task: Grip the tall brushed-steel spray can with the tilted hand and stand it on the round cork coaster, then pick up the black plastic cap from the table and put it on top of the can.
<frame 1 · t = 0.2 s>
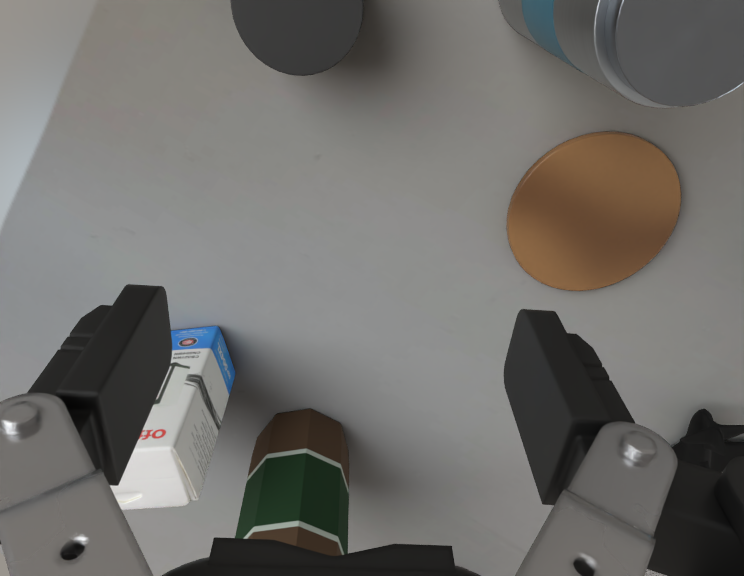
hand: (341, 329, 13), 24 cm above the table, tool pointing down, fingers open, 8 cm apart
ink box: (174, 354, 43), on the table
beer bottle: (303, 438, 48), on the table
toy airplane: (688, 451, 50), on the table
cork coaster: (590, 214, 38), on the table
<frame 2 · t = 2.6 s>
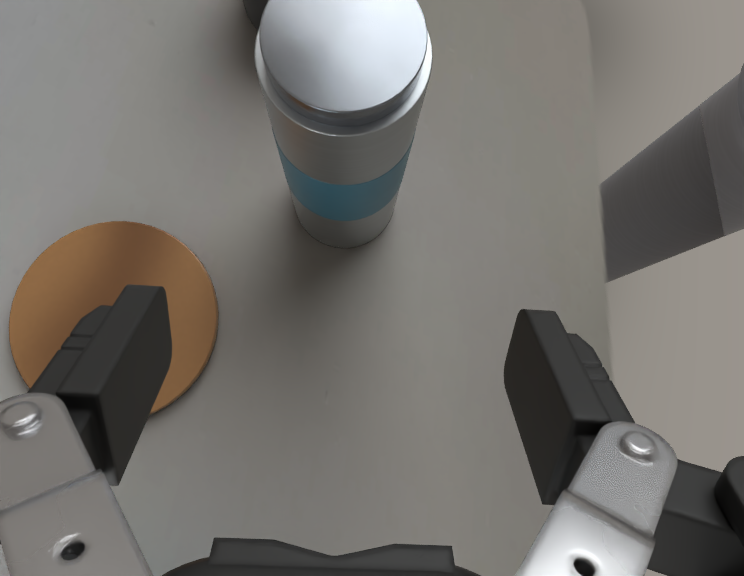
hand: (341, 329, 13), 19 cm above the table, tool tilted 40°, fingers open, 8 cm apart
cork coaster: (117, 320, 32), on the table
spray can: (344, 199, 34), on the table
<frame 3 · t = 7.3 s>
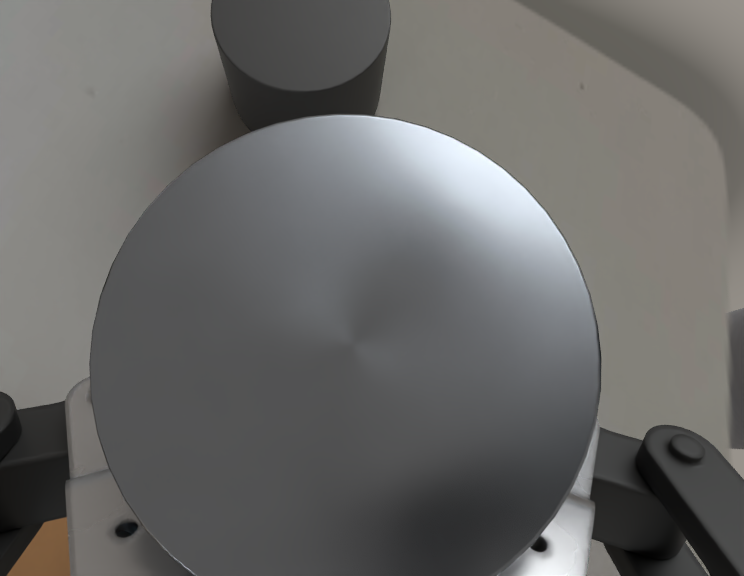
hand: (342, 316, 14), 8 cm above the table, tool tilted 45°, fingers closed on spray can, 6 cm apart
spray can: (335, 402, 21), on the table, touching gripper
black cap: (306, 86, 24), on the table
when the fingers open (9 cm above the table, at t = 16.4 s): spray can stays where it is, resting on cork coaster.
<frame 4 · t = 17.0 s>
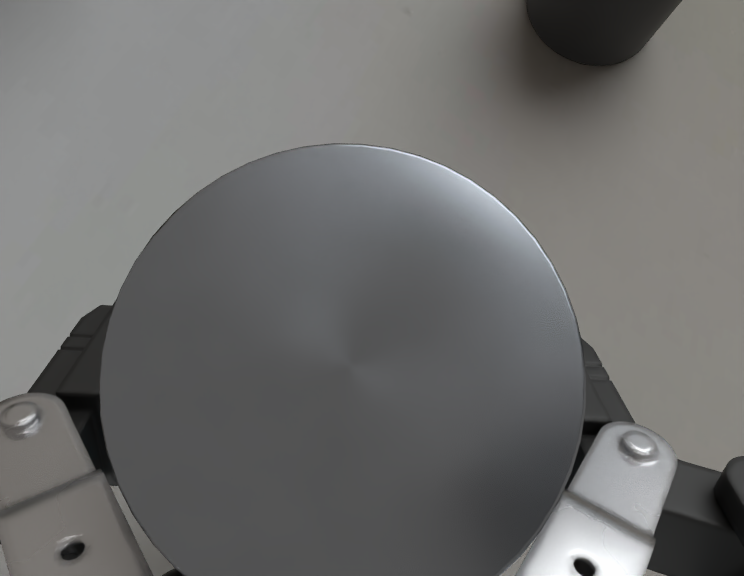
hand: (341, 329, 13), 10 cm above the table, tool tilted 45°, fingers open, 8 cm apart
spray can: (334, 408, 22), point 1 cm above the table, touching cork coaster
black cap: (590, 8, 27), on the table
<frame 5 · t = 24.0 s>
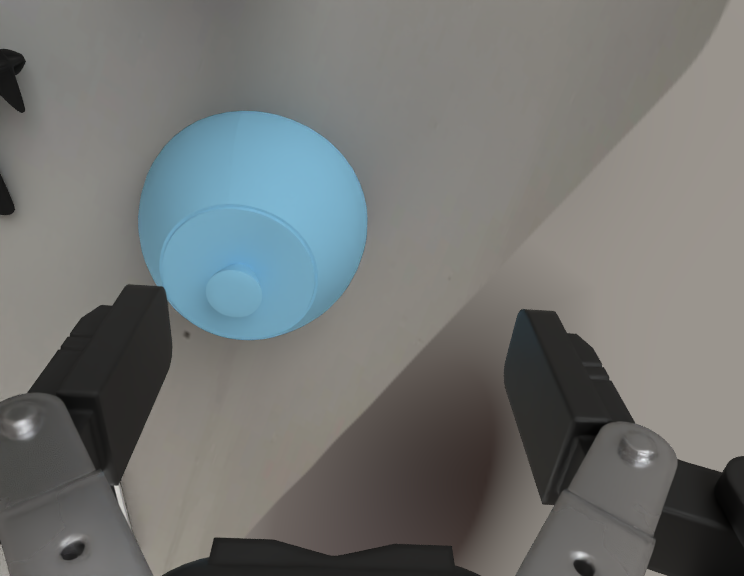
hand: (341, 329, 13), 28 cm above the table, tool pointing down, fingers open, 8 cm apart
sugar bowl: (261, 208, 41), on the table
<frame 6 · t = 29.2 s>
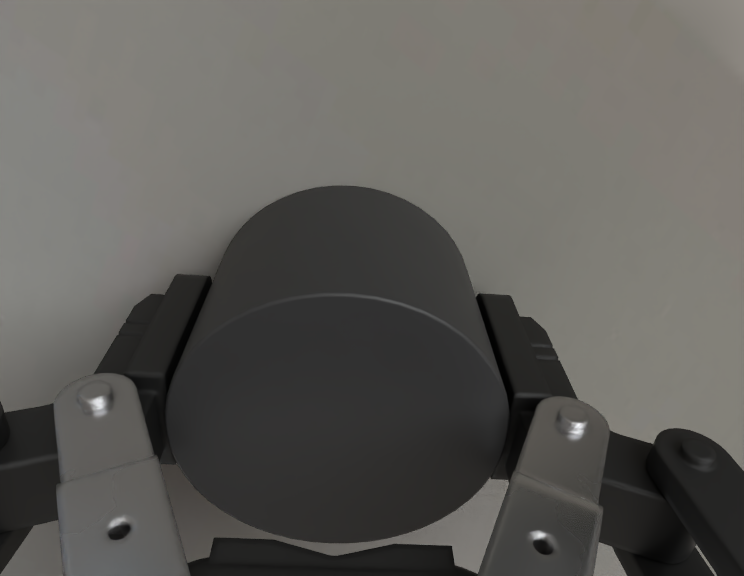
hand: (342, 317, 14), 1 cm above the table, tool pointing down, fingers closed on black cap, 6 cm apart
black cap: (344, 303, 14), on the table, touching gripper
when the fingers open (17 cm above the table, at t = 37.4 s): black cap stays where it is, resting on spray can.
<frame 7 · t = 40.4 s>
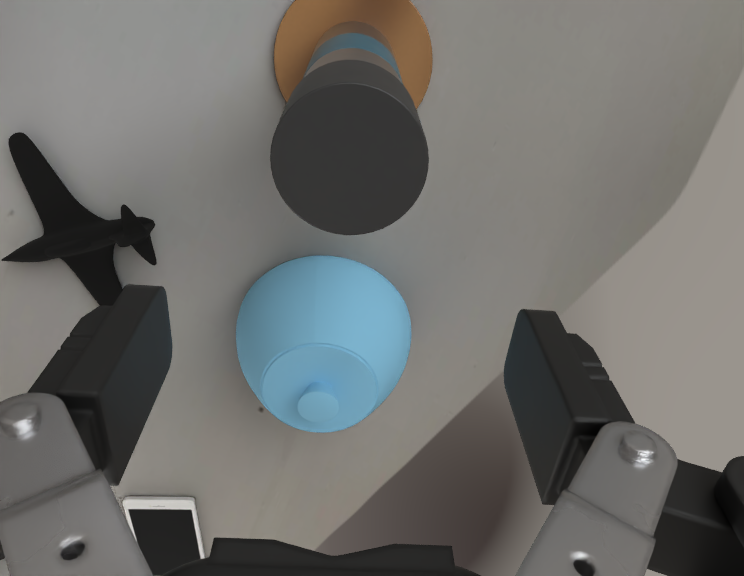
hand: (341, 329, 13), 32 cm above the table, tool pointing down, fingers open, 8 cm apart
sugar bowl: (326, 317, 52), on the table
toy airplane: (85, 232, 47), on the table
cork coaster: (353, 62, 41), on the table
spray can: (353, 66, 40), point 1 cm above the table, touching black cap, cork coaster
black cap: (351, 130, 26), point 17 cm above the table, touching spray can
cell phone: (170, 539, 68), on the table
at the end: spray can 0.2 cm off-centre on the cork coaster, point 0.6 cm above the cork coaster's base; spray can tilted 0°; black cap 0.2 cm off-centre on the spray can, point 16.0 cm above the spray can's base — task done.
